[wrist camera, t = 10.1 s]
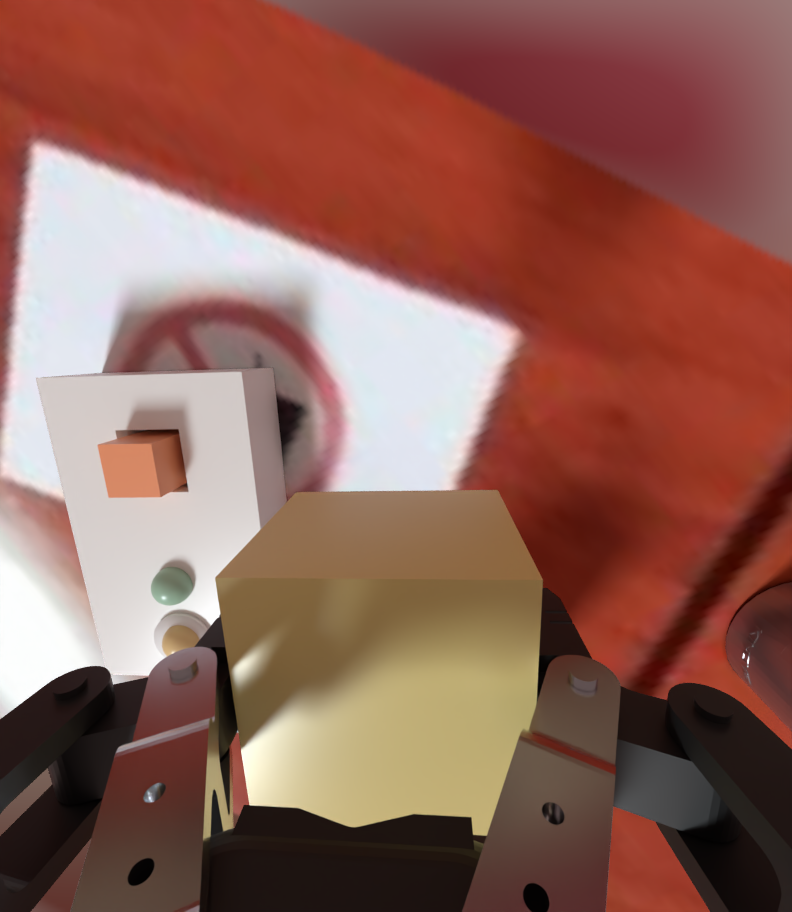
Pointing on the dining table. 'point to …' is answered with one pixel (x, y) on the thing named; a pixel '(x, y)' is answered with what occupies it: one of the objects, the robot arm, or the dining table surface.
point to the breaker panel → (164, 498)
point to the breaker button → (143, 464)
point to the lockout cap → (383, 653)
